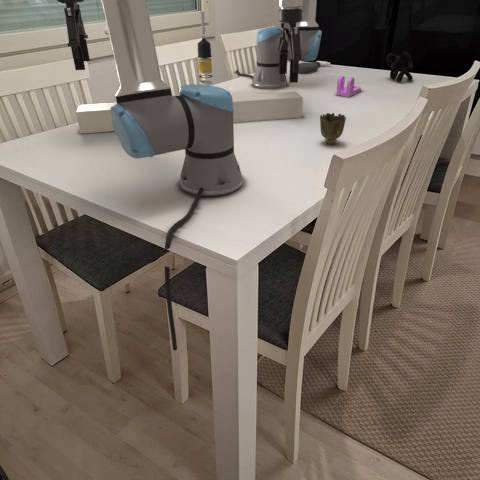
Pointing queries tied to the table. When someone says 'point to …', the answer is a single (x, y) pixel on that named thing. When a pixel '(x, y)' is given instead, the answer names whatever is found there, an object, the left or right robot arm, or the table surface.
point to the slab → (244, 110)
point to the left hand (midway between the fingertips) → (83, 65)
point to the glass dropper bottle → (204, 56)
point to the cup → (332, 127)
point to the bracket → (349, 89)
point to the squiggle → (399, 66)
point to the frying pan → (310, 66)
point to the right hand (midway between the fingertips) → (287, 78)
